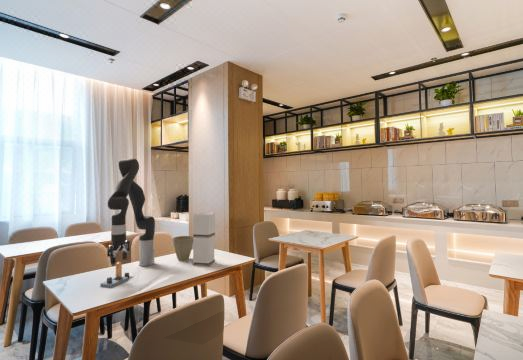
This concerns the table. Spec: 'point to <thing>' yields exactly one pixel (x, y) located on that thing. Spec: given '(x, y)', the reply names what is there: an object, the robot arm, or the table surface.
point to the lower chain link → (127, 276)
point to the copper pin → (118, 270)
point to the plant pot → (183, 247)
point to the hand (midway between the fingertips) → (119, 261)
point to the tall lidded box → (203, 239)
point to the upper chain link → (113, 282)
